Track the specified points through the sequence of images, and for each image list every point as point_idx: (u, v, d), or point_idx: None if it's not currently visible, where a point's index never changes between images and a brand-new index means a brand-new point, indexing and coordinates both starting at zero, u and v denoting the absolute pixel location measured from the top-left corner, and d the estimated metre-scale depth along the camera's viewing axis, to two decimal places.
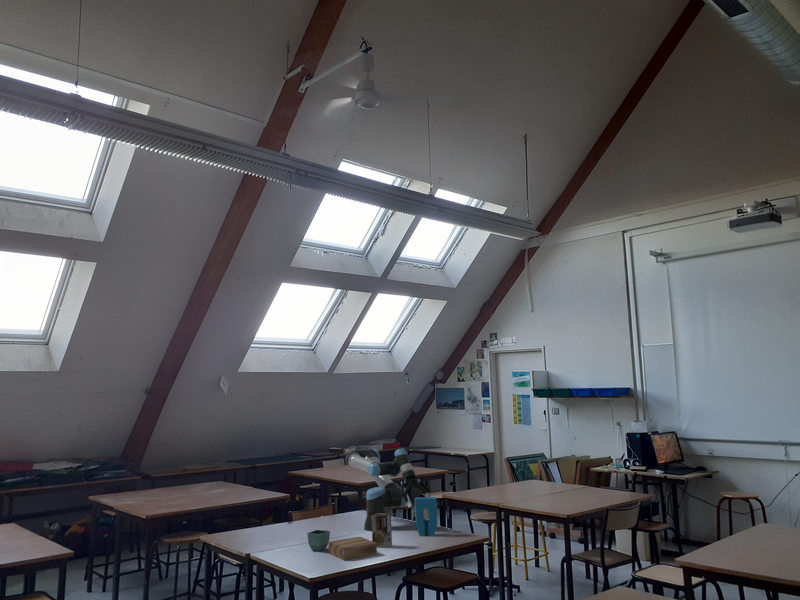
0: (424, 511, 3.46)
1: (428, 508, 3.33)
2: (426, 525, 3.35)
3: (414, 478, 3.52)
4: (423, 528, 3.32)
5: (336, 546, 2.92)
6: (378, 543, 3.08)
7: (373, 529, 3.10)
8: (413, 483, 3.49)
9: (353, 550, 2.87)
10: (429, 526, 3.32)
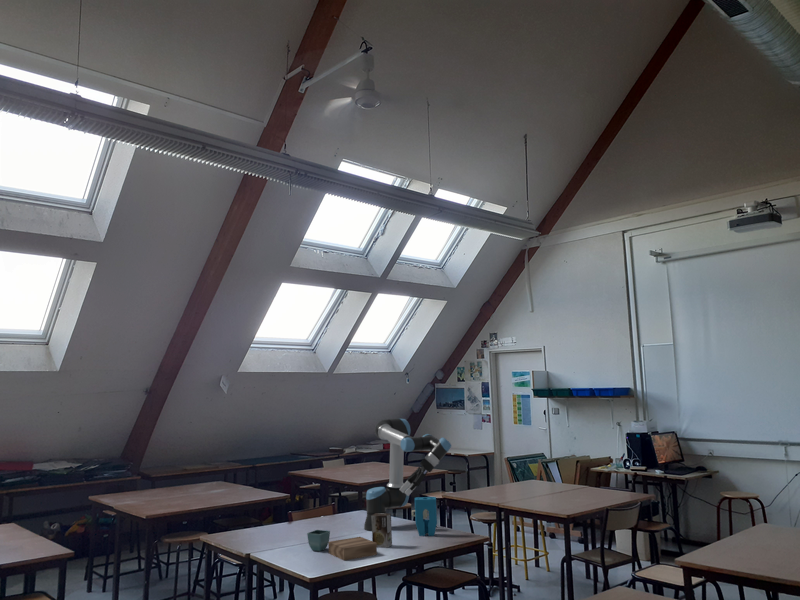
0: (424, 511, 3.46)
1: (428, 509, 3.32)
2: (426, 524, 3.35)
3: None
4: (423, 528, 3.31)
5: (336, 546, 2.92)
6: (378, 543, 3.08)
7: (373, 529, 3.10)
8: None
9: (353, 550, 2.87)
10: (429, 526, 3.31)
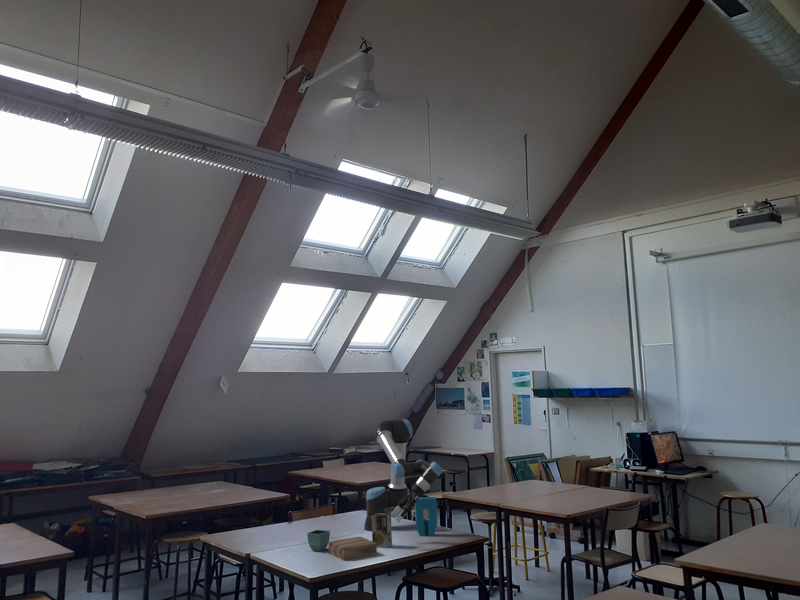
0: (424, 511, 3.46)
1: (428, 508, 3.33)
2: (426, 525, 3.35)
3: None
4: (423, 528, 3.32)
5: (336, 546, 2.92)
6: (378, 543, 3.08)
7: (373, 529, 3.10)
8: None
9: (353, 550, 2.87)
10: (429, 526, 3.32)
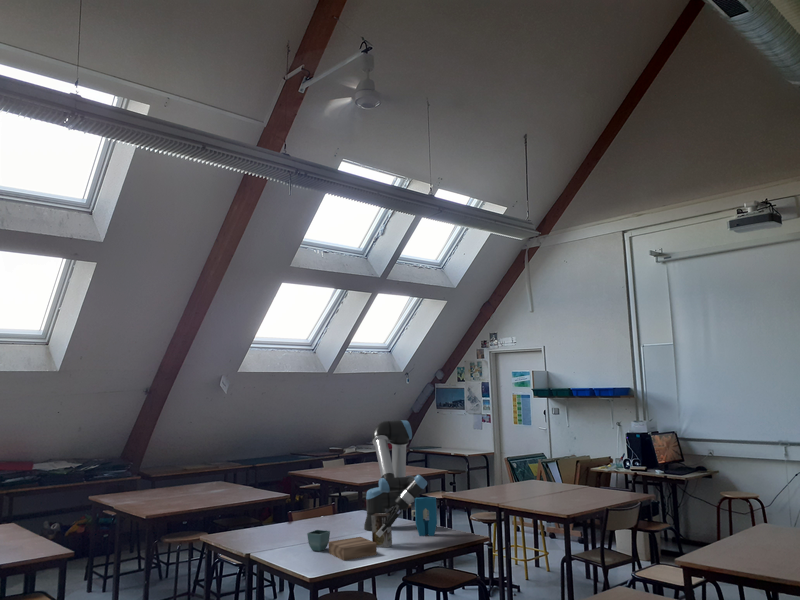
0: (424, 511, 3.46)
1: (428, 508, 3.33)
2: (426, 525, 3.36)
3: None
4: (423, 528, 3.32)
5: (336, 546, 2.92)
6: (378, 543, 3.08)
7: (373, 529, 3.10)
8: None
9: (352, 550, 2.87)
10: (429, 526, 3.32)
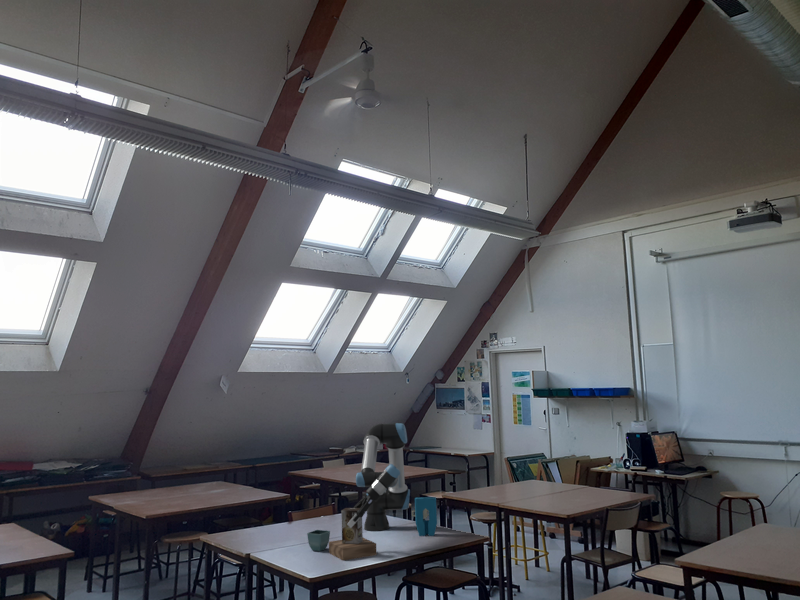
0: (424, 511, 3.46)
1: (428, 508, 3.33)
2: (426, 525, 3.36)
3: None
4: (423, 528, 3.32)
5: (336, 546, 2.92)
6: (348, 539, 2.95)
7: (343, 524, 2.97)
8: None
9: (352, 550, 2.87)
10: (429, 526, 3.32)
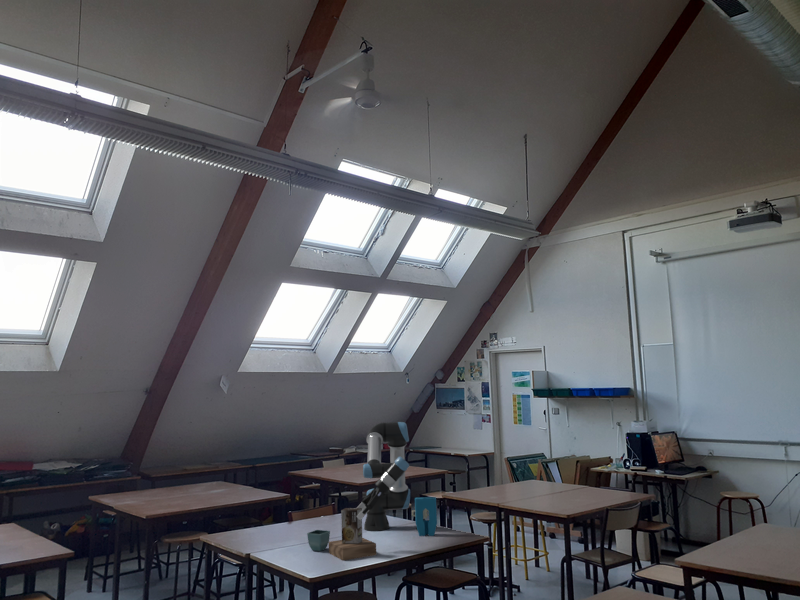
0: (424, 511, 3.46)
1: (428, 508, 3.33)
2: (426, 525, 3.36)
3: None
4: (423, 528, 3.32)
5: (335, 546, 2.92)
6: (348, 539, 2.95)
7: (343, 524, 2.97)
8: None
9: (352, 550, 2.87)
10: (429, 526, 3.32)
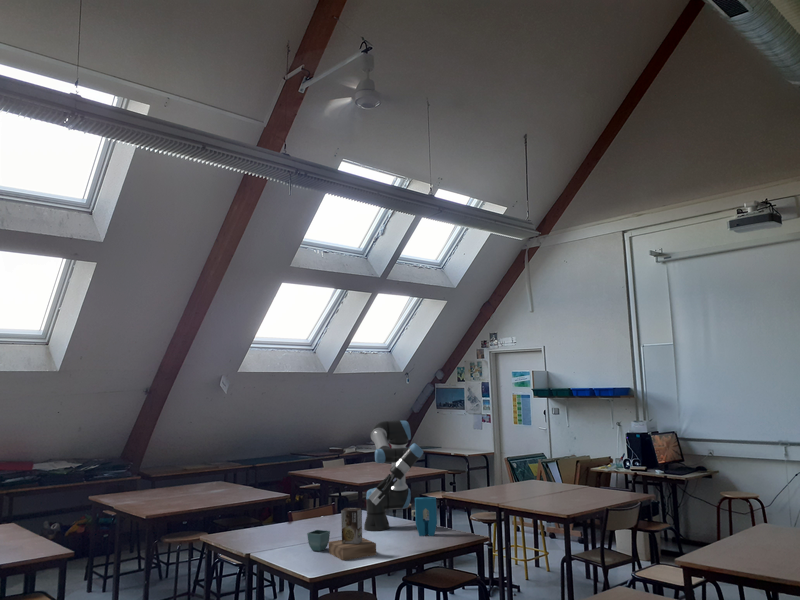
0: (424, 511, 3.46)
1: (428, 508, 3.33)
2: (426, 525, 3.36)
3: None
4: (423, 528, 3.32)
5: (335, 546, 2.92)
6: (348, 539, 2.94)
7: (343, 524, 2.96)
8: None
9: (352, 550, 2.87)
10: (429, 526, 3.32)
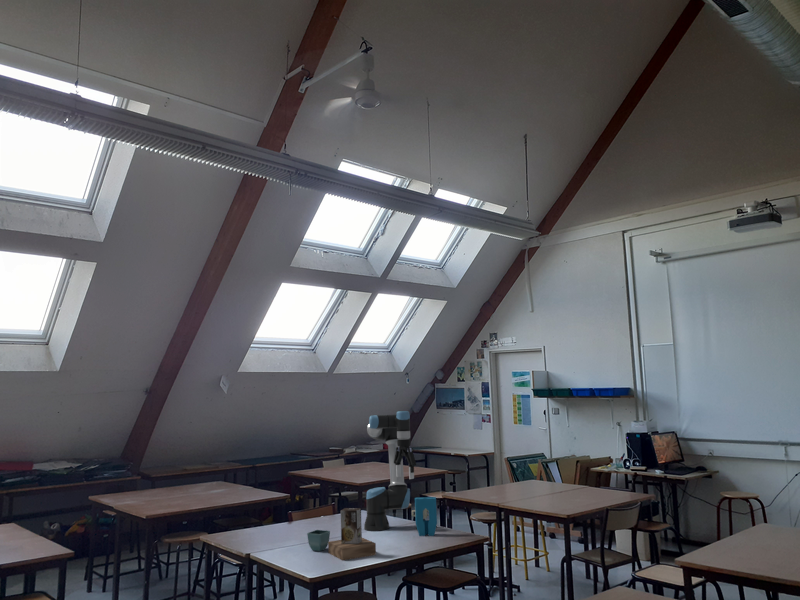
0: (424, 511, 3.46)
1: (428, 508, 3.33)
2: (426, 525, 3.36)
3: None
4: (423, 528, 3.32)
5: (335, 546, 2.92)
6: (347, 539, 2.94)
7: (342, 525, 2.96)
8: None
9: (351, 550, 2.87)
10: (429, 526, 3.32)
